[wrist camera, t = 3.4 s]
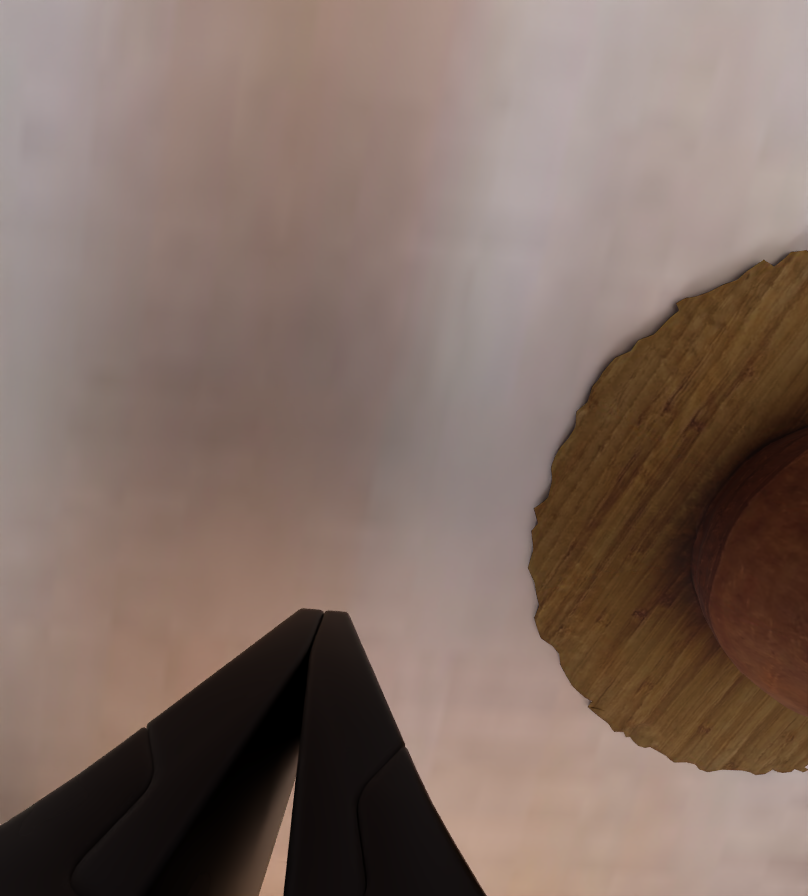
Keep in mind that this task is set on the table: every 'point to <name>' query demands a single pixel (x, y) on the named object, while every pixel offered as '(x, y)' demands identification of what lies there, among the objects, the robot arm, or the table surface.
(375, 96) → the table surface
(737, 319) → the ceramic pot
